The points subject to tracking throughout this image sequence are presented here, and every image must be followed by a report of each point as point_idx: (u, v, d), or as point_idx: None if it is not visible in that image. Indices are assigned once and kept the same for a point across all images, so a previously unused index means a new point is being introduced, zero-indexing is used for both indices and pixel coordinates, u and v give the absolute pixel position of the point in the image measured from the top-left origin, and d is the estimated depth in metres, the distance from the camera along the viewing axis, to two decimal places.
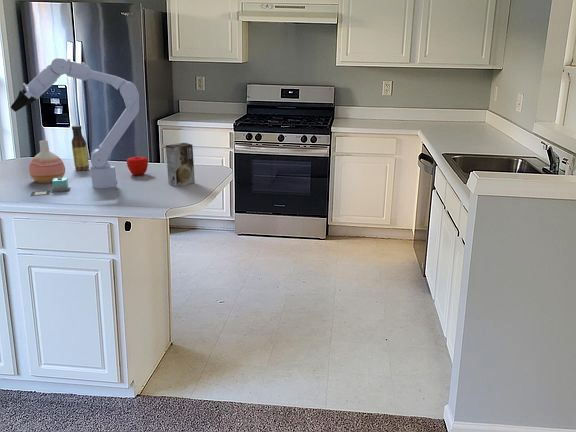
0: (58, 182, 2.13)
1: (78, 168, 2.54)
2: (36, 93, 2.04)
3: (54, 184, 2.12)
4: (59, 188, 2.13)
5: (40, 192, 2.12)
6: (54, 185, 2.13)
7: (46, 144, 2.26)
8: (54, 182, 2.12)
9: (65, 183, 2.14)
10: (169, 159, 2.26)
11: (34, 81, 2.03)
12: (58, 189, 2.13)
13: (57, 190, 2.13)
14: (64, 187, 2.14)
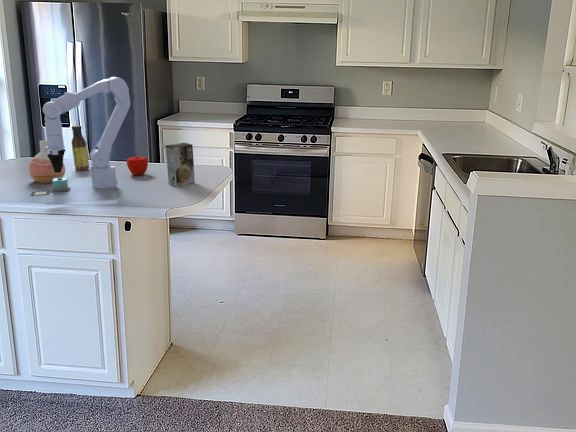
0: (58, 182, 2.13)
1: (78, 168, 2.54)
2: (59, 145, 2.09)
3: (54, 184, 2.12)
4: (59, 188, 2.13)
5: (40, 192, 2.12)
6: (54, 185, 2.13)
7: (46, 144, 2.26)
8: (54, 182, 2.12)
9: (65, 183, 2.14)
10: (169, 159, 2.26)
11: (48, 138, 2.08)
12: (58, 189, 2.13)
13: (57, 190, 2.13)
14: (64, 187, 2.14)
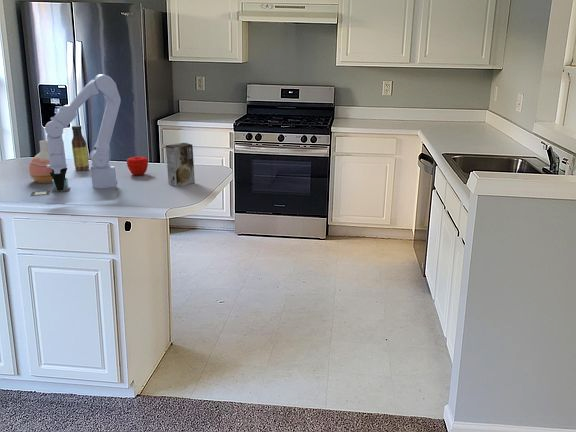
0: None
1: (78, 168, 2.54)
2: (61, 164, 2.11)
3: (54, 184, 2.12)
4: None
5: (40, 192, 2.12)
6: (54, 185, 2.13)
7: (46, 144, 2.26)
8: (54, 182, 2.12)
9: (65, 183, 2.14)
10: (169, 159, 2.26)
11: (51, 157, 2.10)
12: None
13: (57, 190, 2.13)
14: (64, 187, 2.14)
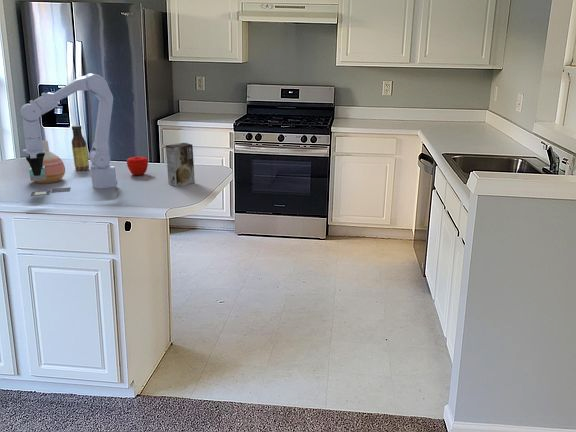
0: None
1: (78, 168, 2.54)
2: (38, 148, 2.05)
3: (31, 173, 2.06)
4: (36, 177, 2.07)
5: (40, 192, 2.12)
6: (31, 174, 2.06)
7: (46, 144, 2.26)
8: (31, 171, 2.06)
9: (42, 172, 2.07)
10: (169, 159, 2.26)
11: (27, 141, 2.03)
12: (35, 178, 2.07)
13: (34, 179, 2.07)
14: (41, 176, 2.08)
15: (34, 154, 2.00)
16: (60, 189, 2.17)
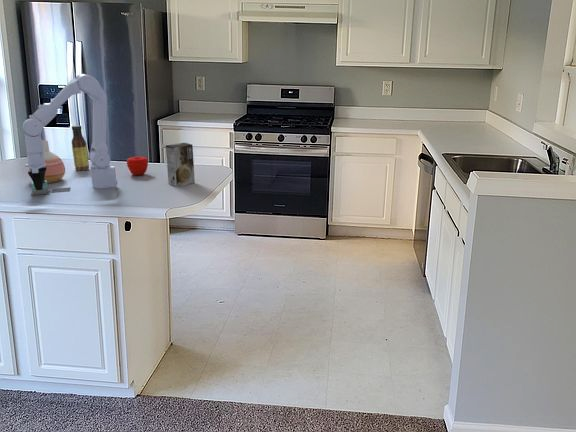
0: None
1: (78, 168, 2.54)
2: (39, 163, 2.06)
3: (33, 187, 2.08)
4: (38, 191, 2.09)
5: None
6: (33, 188, 2.08)
7: (46, 144, 2.26)
8: (33, 185, 2.08)
9: (44, 186, 2.09)
10: (169, 159, 2.26)
11: (29, 156, 2.05)
12: (37, 192, 2.09)
13: (36, 193, 2.09)
14: (43, 190, 2.09)
15: (36, 169, 2.02)
16: (60, 189, 2.17)
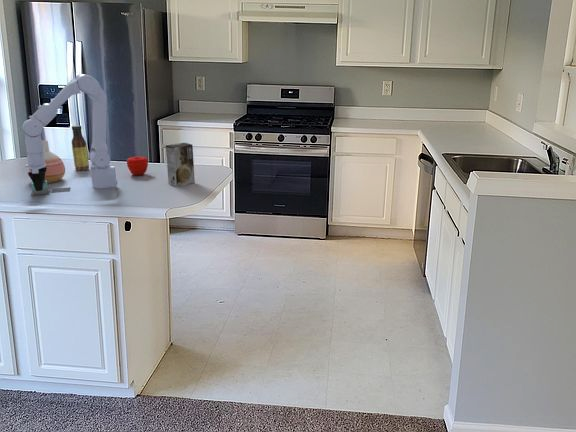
0: None
1: (78, 168, 2.54)
2: (40, 163, 2.06)
3: (33, 187, 2.08)
4: (38, 191, 2.09)
5: None
6: (33, 188, 2.08)
7: (46, 144, 2.26)
8: (33, 185, 2.08)
9: (44, 186, 2.09)
10: (169, 159, 2.26)
11: (29, 157, 2.05)
12: (37, 192, 2.09)
13: (36, 193, 2.09)
14: (43, 190, 2.09)
15: (36, 169, 2.02)
16: (60, 189, 2.17)
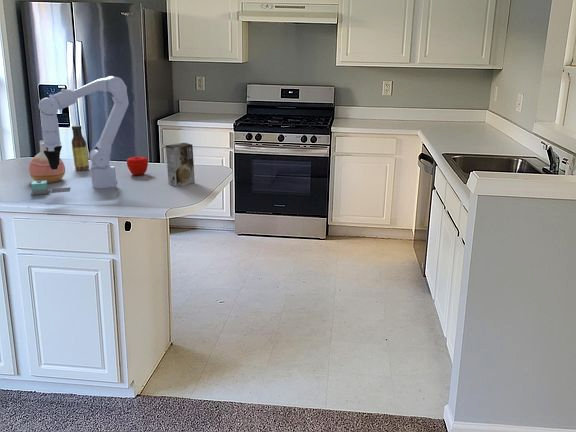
0: (37, 185, 2.08)
1: (78, 168, 2.54)
2: (55, 142, 2.08)
3: (33, 187, 2.08)
4: (38, 191, 2.09)
5: None
6: (33, 188, 2.08)
7: None
8: (33, 185, 2.08)
9: (44, 186, 2.09)
10: (169, 159, 2.26)
11: (45, 135, 2.06)
12: (37, 192, 2.09)
13: (36, 193, 2.09)
14: (43, 190, 2.09)
15: (52, 147, 2.03)
16: (60, 189, 2.17)
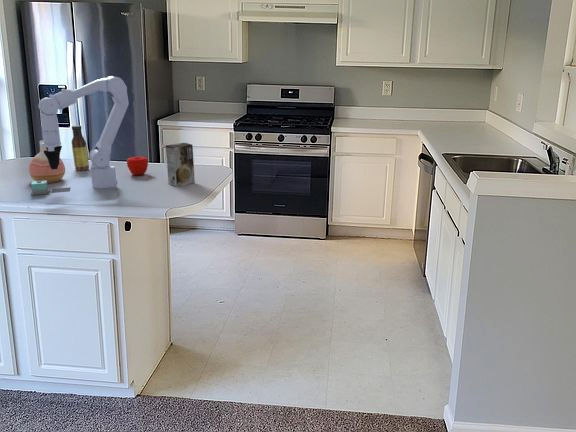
0: (37, 185, 2.08)
1: (78, 168, 2.54)
2: (55, 141, 2.08)
3: (33, 187, 2.08)
4: (38, 191, 2.09)
5: None
6: (33, 188, 2.08)
7: None
8: (33, 185, 2.08)
9: (44, 186, 2.09)
10: (169, 159, 2.26)
11: (45, 135, 2.06)
12: (37, 192, 2.09)
13: (36, 193, 2.09)
14: (43, 190, 2.09)
15: (52, 147, 2.03)
16: (60, 189, 2.17)
